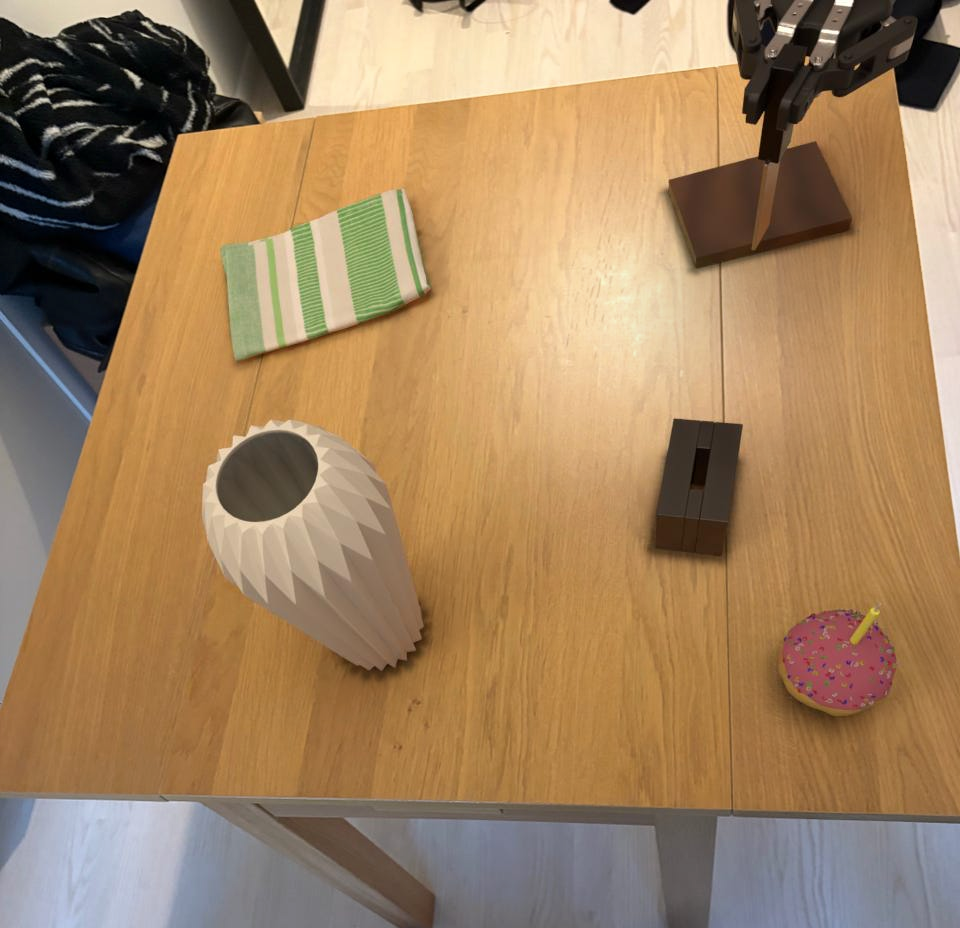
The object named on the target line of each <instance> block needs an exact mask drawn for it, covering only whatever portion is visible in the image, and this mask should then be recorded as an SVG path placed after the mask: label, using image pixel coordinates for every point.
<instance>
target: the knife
mask: <svg viewBox="0 0 960 928" xmlns="http://www.w3.org/2000/svg"><path fill="white" fill-rule="evenodd" d="M806 53H807V47H805V46H799V45H793V44H787V43H785V44H784V45H783V47H782V49H781V50H780V52H779V54H778V55H777V57H776V59H775V60H774V62H773V64H772V65H771V68H770V75H769V83H768V91H767V98H766V105H765V111H764V112H763V118H762V125H761V126H762V127H761V131H760V132H761V134H760V141H759V147H758V154H757V156H758V160H762V161H766V162H765V164H764V169H763V176H762V182H761V189H760V196H759V203H758V209H757V216H756V223H755V230H754V236H753V243H752V250H755V249H756V247H757V246H758V244H759V242H760V240H761V239H762V237H763V235H764V233H765V232H766V230H767V228H768V226H769V224H770V218H771V212H772V206H773V200H774V194H775V188H776V182H777V176H778V170H779V164H780V160H781V158H782V156H783V154H784V153H785V151H786V149H787V148H789V146H790V144H791V142H792V137H793V132H794V126H795V124H791V125H790V126H789V128H788V130H787V131H782V130H777V129H776V124H777V118H778V112H779V106H780V103H781V100H782V98H783V96H784V95H785V93H786V91H787V89H788V88H789V86H790V84H791V83H792V82H793V80H794V79H795V77H796V75H797V74H798V72H799V70H800V69H801V67H802V65H806V64H805V63H806V59H807V57H806Z"/></svg>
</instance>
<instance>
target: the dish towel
mask: <svg viewBox="0 0 960 928" xmlns="http://www.w3.org/2000/svg"><path fill="white" fill-rule="evenodd" d="M220 257H221V261H222V265H223V269H224V273H225V277H226V286H227V287H226V288H227V302H228V303H227V304H228V317H229V332H230V340H231V347H232V353H233V357H234V360H235V361H236V362H240V361H245V360H248V359H251V358H252V357H256V356H259V355H261V354H266V353H269V352H272V351H275V350H279V349H283V348H287V347H290V346H293V345H297V344H300V343H303V342H308V341H310V340H315V339H317V338H320V337H322V336H325V335H328V334H331V333H333V332H339V331H341V330H345V329H347V328H350V327H354V326H356V325H359V324H362V323H366V322H369V321H372V320H374V319H376V318H379V317H382V316H384V315H387V314H390V313H392V312H395V311H397V310H398V309H400V308H403V307H405V306H406V305H407V304H409V303H411V302H413V301H415V300H417V299H419V298H422V297H423V296H424V295H426V294H427V293H428V292H429V291H430V290H431V288H432V285H431V283H430V281H429V278H428V274H427V270H426V265H425V261H424V257H423V254H422V250H421V245H420V241H419V237H418V232H417V228H416V224H415V219H414V213H413V210H412V206H411V203H410V199H409V197H408V194H407V191H406V189H405V188H399V189H389V190H386V191H383V192H380V193H378V194H376V195H375V194H374V195H372V196H370V197H367V198H365V199H362V200H359V201H355V202H353V203H350V204H348V205H345V206H342V207H340V208H338V209H336V210H334V211H331V212H329V213H326V214H324V215H321V217H318V218H316V219H312V220H309V221H307V222H303V223H300V224H297V225H295V226H293V227H292V228H289V229H288V230H286V231H284V232H282V233H279V234H276V235H272V236H267V237H264V238H259V239H255V240H251V241H245V242H244V241H243V242H232V243H228V244H224V245H221V246H220Z"/></svg>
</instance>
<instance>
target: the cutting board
mask: <svg viewBox="0 0 960 928" xmlns="http://www.w3.org/2000/svg"><path fill="white" fill-rule="evenodd" d="M765 162H766V161H762V160H758V155H757V156H754V157H749V158H746V159H742V160H739V161H735V162H731V163H727V164H723V165H719V166H715V167H711V168H708V169H704V170H701V171H700V170H699V171H697V172H693V173H688V174H686V175H681V176H677V177H674V178H669V179H668V190H667V192H668V195H669V198H670V201H671V203H672V206H673V208H674V212H675V215H676V217H677V221H678V223H679V226H680V230H681V233H682V234H683V237H684V240H685V243H686V246H687V249H688V252H689V255H690V258H691V260H692V263H693V266H694V268H695V269H699V268H704V267H708V266H711V265H715V264H719V263H723V262H727V261H731V260H736V259H740V258H743V257H744V258H745V257H747V256H751V255H755V254H759V253H763V252H767V251H770V250H776V249H779V248H782V247H787V246H792V245H795V244H799V243H804V242H808V241H811V240H816V239H819V238H823V237H826V236H830V235H835V234H840V233H843V232H848V231H850V228H851V225H852V222H853V216H852V214H851V213H850V210H849V208H848V206H847V203H846V201H845V199H844V197H843V195H842V193H841V191H840V189H839V187H838V185H837V183H836V180H835V178H834V176H833V173H832V172H831V170H830V167H829V165H828V163H827V161H826V159H825V157H824V155H823V152H822V149H821V148H820V146H819V144H818V141H816V140H815V141H811V142H807V143H804V144H799V145H795V146H791V147H787V149H786V151H785V153H784V154H783V156H782V158H781V160H780V164H779V170H778V176H777V182H776V188H775V194H774V200H773V206H772V212H771V218H770V224H769V226H768V228H767V230H766V232H765V233H764V235H763V237H762V239H761V240H760V242H759V244H758V246H757V247H756V249H755V250H752V243H753V236H754V230H755V223H756V216H757V209H758V203H759V196H760V189H761V182H762V176H763V169H764V164H765Z"/></svg>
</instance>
